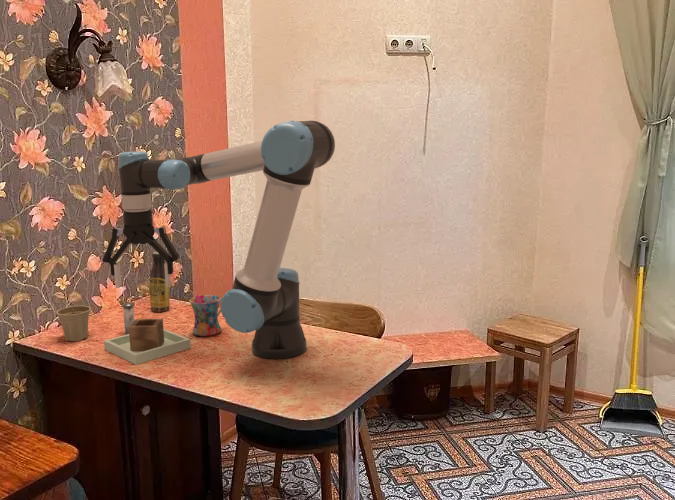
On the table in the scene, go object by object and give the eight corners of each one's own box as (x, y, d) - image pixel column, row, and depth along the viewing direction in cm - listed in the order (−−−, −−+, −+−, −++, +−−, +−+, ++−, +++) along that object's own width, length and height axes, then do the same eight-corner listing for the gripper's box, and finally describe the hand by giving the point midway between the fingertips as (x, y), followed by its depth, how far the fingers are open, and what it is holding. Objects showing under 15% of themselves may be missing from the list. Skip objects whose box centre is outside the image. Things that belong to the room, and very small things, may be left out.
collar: (164, 341, 190) (162, 318, 188) (157, 351, 183) (156, 326, 181) (138, 342, 190) (136, 318, 188) (130, 351, 182) (128, 327, 181)
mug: (206, 340, 193) (204, 305, 190) (184, 334, 198) (182, 300, 196) (235, 329, 202) (234, 295, 200) (213, 324, 207) (212, 291, 205)
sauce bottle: (147, 312, 220) (143, 254, 216) (155, 307, 226) (151, 250, 222) (166, 313, 219) (162, 254, 215) (173, 307, 225) (170, 250, 221)
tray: (190, 348, 186) (190, 339, 186) (135, 364, 175) (135, 355, 174) (158, 334, 198) (157, 326, 198) (104, 349, 186) (104, 340, 186)
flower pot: (53, 338, 196) (50, 310, 194) (84, 330, 203) (81, 303, 201) (68, 345, 190) (65, 316, 188) (99, 337, 196) (96, 309, 194)
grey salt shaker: (138, 333, 200) (136, 304, 198) (127, 336, 197) (125, 306, 195) (132, 330, 202) (130, 301, 200) (121, 333, 200) (119, 304, 198)
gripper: (186, 206, 182) (191, 281, 186) (95, 208, 182) (102, 283, 186) (180, 210, 175) (186, 288, 179) (85, 212, 174) (93, 290, 179)
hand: (143, 286), depth 183 cm, fingers open, 13 cm apart
